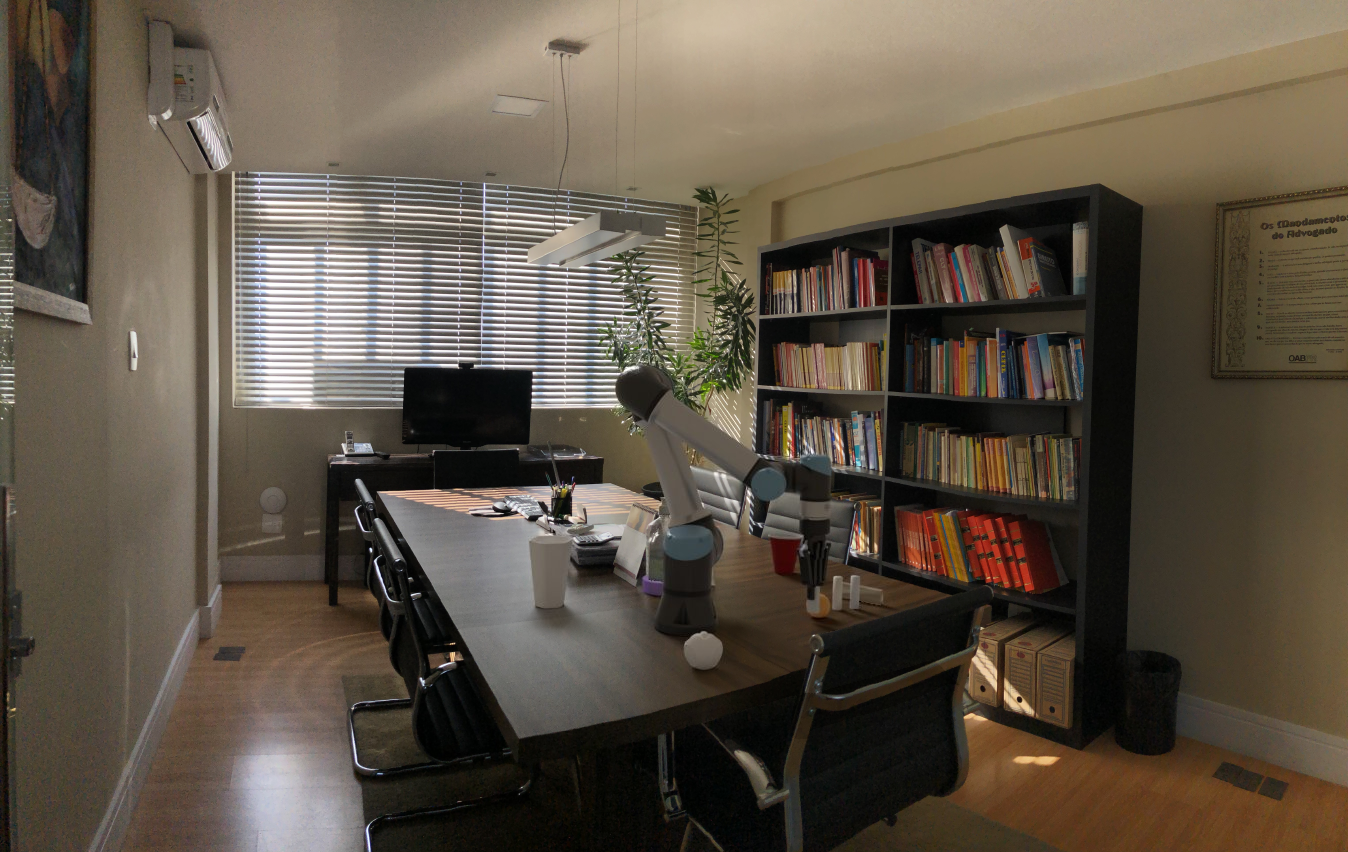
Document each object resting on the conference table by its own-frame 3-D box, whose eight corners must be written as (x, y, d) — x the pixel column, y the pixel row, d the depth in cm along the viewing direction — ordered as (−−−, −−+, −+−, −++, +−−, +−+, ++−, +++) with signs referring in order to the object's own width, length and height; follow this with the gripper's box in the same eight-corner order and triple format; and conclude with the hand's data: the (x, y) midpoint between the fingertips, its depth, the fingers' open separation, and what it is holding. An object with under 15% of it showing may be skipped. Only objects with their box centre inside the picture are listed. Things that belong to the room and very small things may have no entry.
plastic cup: (800, 569, 255) (802, 531, 254) (802, 577, 244) (804, 538, 243) (766, 567, 256) (767, 530, 255) (766, 575, 245) (768, 536, 244)
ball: (823, 589, 200) (833, 595, 205) (801, 592, 203) (812, 598, 208) (824, 613, 197) (834, 618, 202) (802, 615, 201) (813, 621, 205)
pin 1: (837, 610, 209) (838, 578, 209) (830, 608, 211) (831, 576, 210) (843, 609, 210) (844, 577, 210) (836, 607, 212) (837, 575, 212)
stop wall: (879, 605, 215) (880, 591, 215) (832, 595, 224) (832, 581, 223) (882, 604, 217) (883, 589, 216) (835, 594, 225) (836, 580, 225)
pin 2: (854, 609, 210) (856, 577, 210) (847, 607, 212) (848, 575, 212) (860, 608, 212) (862, 576, 211) (853, 606, 214) (855, 574, 213)
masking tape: (647, 597, 217) (648, 583, 217) (638, 586, 229) (638, 573, 228) (689, 595, 221) (689, 581, 220) (677, 585, 232) (678, 571, 232)
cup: (560, 612, 200) (562, 544, 199) (522, 609, 202) (523, 542, 201) (575, 600, 211) (576, 536, 210) (538, 597, 213) (540, 533, 212)
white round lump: (720, 662, 168) (721, 626, 168) (724, 675, 160) (725, 637, 160) (682, 661, 168) (683, 625, 167) (684, 675, 160) (685, 636, 160)
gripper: (814, 522, 190) (812, 620, 191) (841, 515, 200) (839, 609, 201) (787, 518, 195) (786, 614, 196) (814, 512, 205) (813, 603, 206)
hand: (813, 611), depth 198 cm, fingers closed
